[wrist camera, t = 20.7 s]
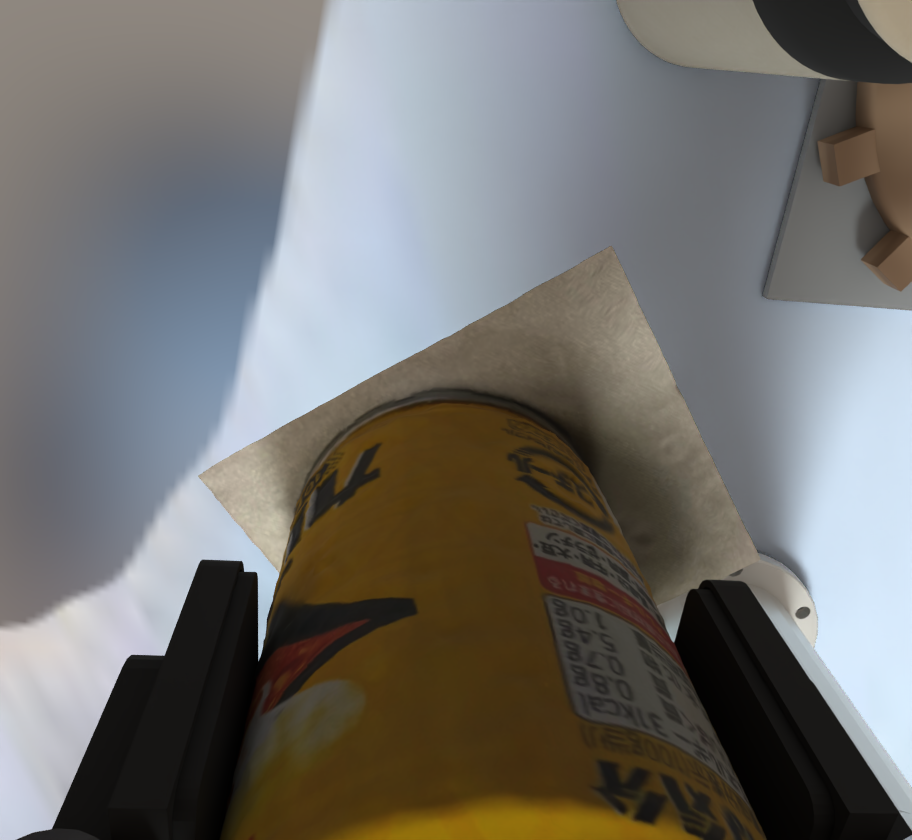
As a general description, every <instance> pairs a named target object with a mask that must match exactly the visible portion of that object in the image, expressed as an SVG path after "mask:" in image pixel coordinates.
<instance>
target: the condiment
mask: <svg viewBox="0 0 912 840" xmlns="http://www.w3.org/2000/svg"><path fill="white" fill-rule="evenodd" d="M198 477H199V478H200V479H201V480H202V481H203V483H204V484H205V485H206V486H207V487H208V488H209V489H210V490H211V491H212V493H213V494H214V496H215V498H216V499H217V500H218V501H219V502H220V503H221V504H222V506H223V507H224V508H225V509H226V511H227V512H228V513H229V514H230V515H231V517H232V518H233V519H234V521H235V522H236V523H237V524H238V525H239V526H241V528H242V529H243V530H244V532H245V533H246V534H247V536H248V537H249V539H250V540H251V541H252V542H253V543H254V544H255V545H256V546H257V547H258V548H259V549H260V550H261V551H262V553H263V554H264V555H265V557H266V558H267V559H268V560H269V561H270V562H271V564H272V565H273V566H274V567H275V568H276V570H277V571H278V572H279V578H278V581H277V583H276V587H275V592H274V596H273V602H272V604H271V607H270V611H269V614H268V617H267V628H266V637H265V639H264V644H263V650H262V654H261V657H260V659H259V661H258V665H257V669H256V673H255V676H254V681H253V685H252V693H251V703H250V707H249V709H248V713H247V717H246V722H245V729H244V734H243V738H242V742H241V746H240V750H239V754H238V759H237V764H236V768H235V770H234V776H233V782H232V788H231V792H230V794H229V797H228V800H227V805H226V812H225V818H224V822H223V826H222V829H221V833H220V838H219V840H767V839H766V837H765V834H764V832H763V830H762V828H761V826H760V824H759V822H758V820H757V818H756V815H755V813H754V811H753V809H752V807H751V805H750V803H749V801H748V799H747V797H746V794H745V792H744V790H743V788H742V786H741V784H740V782H739V779H738V777H737V775H736V773H735V772H734V770H733V767H732V765H731V762H730V760H729V757H728V756H727V754H726V752H725V750H724V748H723V747H722V745H721V743H720V741H719V738H718V736H717V734H716V731H715V730H714V728H713V726H712V724H711V722H710V720H709V718H708V715H707V713H706V710H705V709H704V707H703V705H702V703H701V701H700V699H699V697H698V695H697V693H696V691H695V689H694V687H693V684H692V682H691V680H690V678H689V676H688V673H687V670H686V669H685V667H684V665H683V663H682V660H681V658H680V655H679V653H678V651H677V648H676V646H675V644H674V642H673V641H672V640H671V638H670V636H669V633H668V631H667V629H666V626H665V622H664V619H663V617H662V616H661V614H660V612H659V610H658V608H657V606H658V605H660V604H662V603H665V602H667V601H669V600H672V599H674V598H676V597H678V596H680V595H682V594H684V593H687V592H689V591H690V590H691V589H698V588H699V585H700V584H701V582H702V581H704V580H706V579H707V580H722V579H723V578H725V577H727V576H728V575H730V574H732V573H734V572H736V571H738V570H740V569H742V568H745V567H747V566H749V565H751V564H753V563H755V562H757V561H759V560H761V559H760V556H759V554H758V552H757V550H756V548H755V546H754V544H753V542H752V540H751V537H750V536H749V534H748V532H747V530H746V529H745V526H744V524H743V522H742V520H741V518H740V516H739V514H738V512H737V510H736V507H735V505H734V503H733V501H732V499H731V497H730V495H729V493H728V491H727V489H726V487H725V485H724V483H723V480H722V478H721V476H720V474H719V472H718V471H717V468H716V466H715V463H714V461H713V459H712V457H711V455H710V453H709V451H708V449H707V447H706V445H705V443H704V441H703V440H702V437H701V435H700V432H699V430H698V428H697V426H696V424H695V422H694V420H693V417H692V415H691V413H690V411H689V409H688V407H687V405H686V403H685V401H684V398H683V397H682V395H681V393H680V391H679V390H678V388H677V386H676V382H675V380H674V378H673V375H672V373H671V371H670V369H669V366H668V364H667V362H666V360H665V358H664V357H663V355H662V352H661V349H660V347H659V345H658V343H657V341H656V339H655V337H654V335H653V333H652V331H651V329H650V327H649V324H648V322H647V320H646V318H645V316H644V314H643V312H642V310H641V308H640V306H639V304H638V301H637V298H636V296H635V294H634V292H633V290H632V288H631V285H630V283H629V281H628V279H627V277H626V275H625V273H624V271H623V268H622V266H621V264H620V262H619V260H618V258H617V256H616V254H615V252H614V250H613V247H612V246H609V247H608V248H606V249H604V250H603V251H601V252H599V253H597V254H595V255H593V256H592V257H590V258H588V259H586V260H584V261H583V262H581V263H580V264H578V265H577V266H575V267H573V268H571V269H570V270H568V271H566V272H564V273H562V274H561V275H559V276H557V277H555V278H553V279H551V280H549V281H547V282H545V283H543V284H541V285H539V286H537V287H535V288H534V289H532V290H530V291H528V292H527V293H525V294H523V295H522V296H521V297H519V298H517V299H516V300H514V301H513V302H511V303H509V304H507V305H505V306H503V307H501V308H499V309H497V310H495V311H493V312H492V313H490V314H488V315H487V316H485V317H483V318H481V319H479V320H477V321H475V322H473V323H471V324H469V325H468V326H466V327H464V328H463V329H461V330H460V331H458V332H456V333H454V334H453V335H451V336H449V337H447V338H444V339H442V340H440V341H438V342H436V343H435V344H433V345H431V346H429V347H428V348H426V349H424V350H422V351H420V352H418V353H416V354H414V355H412V356H411V357H409V358H407V359H405V360H403V361H401V362H399V363H397V364H395V365H393V366H391V367H390V368H388V369H386V370H384V371H382V372H380V373H378V374H376V375H375V376H373V377H371V378H369V379H367V380H365V381H363V382H362V383H360V384H358V385H357V386H355V387H353V388H351V389H349V390H348V391H346V392H344V393H342V394H341V395H339V396H337V397H336V398H334V399H332V400H330V401H328V402H326V403H324V404H322V405H320V406H318V407H317V408H315V409H313V410H312V411H310V412H308V413H306V414H305V415H303V416H301V417H299V418H297V419H295V420H293V421H291V422H289V423H288V424H286V425H284V426H282V427H280V428H279V429H277V430H275V431H274V432H272V433H271V434H269V435H267V436H266V437H264V438H262V439H260V440H258V441H256V442H254V443H252V444H250V445H248V446H246V447H245V448H243V449H241V450H240V451H238V452H236V453H234V454H232V455H231V456H229V457H228V458H226V459H224V460H222V461H221V462H219V463H217V464H215V465H214V466H212V467H211V468H209V469H208V470H206V471H205V472H204V473H202V474H200V475H198Z"/></svg>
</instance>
